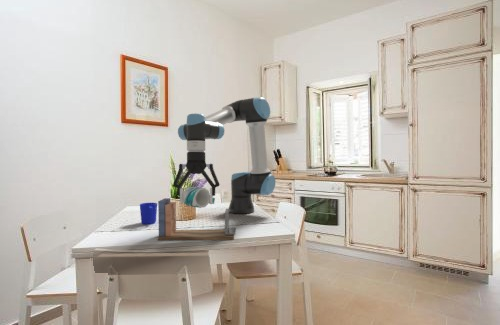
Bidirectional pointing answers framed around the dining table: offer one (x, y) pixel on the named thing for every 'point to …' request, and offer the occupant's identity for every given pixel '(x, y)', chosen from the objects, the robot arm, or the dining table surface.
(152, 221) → the mug
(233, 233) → the bookend
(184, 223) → the dining table surface
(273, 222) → the dining table surface
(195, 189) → the mug
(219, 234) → the shelf
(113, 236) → the dining table surface
